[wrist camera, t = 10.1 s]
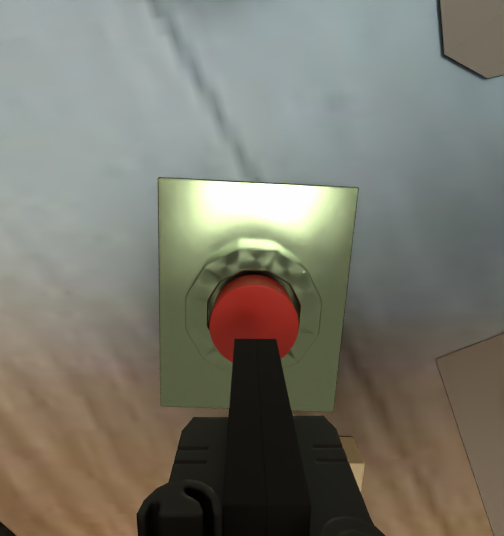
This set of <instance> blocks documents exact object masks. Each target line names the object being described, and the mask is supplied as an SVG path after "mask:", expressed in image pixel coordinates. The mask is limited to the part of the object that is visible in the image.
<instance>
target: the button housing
mask: <svg viewBox="0 0 504 536" xmlns="http://www.w3.org/2000/svg"><path fill="white" fill-rule="evenodd" d="M358 191H359V188H358V187H343V186H323V185H303V184H284V183H264V182H244V181H224V180H204V179H184V178H164V177H158V238H159V320H160V401H161V406H165V407H196V408H227V409H229V405H230V392H231V378H232V365H233V363H232V362H230V361H229V360H227V359H226V358H225V357H224V356H222V355H221V354H220V352H219V351H218V350H217V349H216V347H215V346H214V344H213V342H212V339H211V335H210V329H209V323H210V317H211V313H212V309H213V306H214V303H215V300H216V297H217V295H218V294H219V292H220V291H221V289H222V288H223V287H224V286H225V285H226V284H228V283H229V282H230V281H232V280H234V279H236V278H238V277H241V276H244V275H254V274H256V275H263V276H267V277H269V278H272V279H273V280H275V281H277V282H278V283H280V284H281V285H282V286H283V287H284V288H285V290H286V291H287V292H288V294H289V296H290V298H291V300H292V302H293V305H294V307H295V310H296V312H297V315H298V321H299V330H298V335H297V339H296V341H295V343H294V345H293V347H292V348H291V350H290V351H289V352H288V353H287V354H286V355H285V356H284V357H283V358H282V359H281V363H282V368H283V373H284V378H285V382H286V387H287V392H288V397H289V401H290V406H291V411H319V412H333V410H334V401H335V392H336V384H337V375H338V366H339V357H340V348H341V340H342V331H343V322H344V313H345V305H346V296H347V287H348V278H349V270H350V261H351V252H352V243H353V234H354V226H355V217H356V208H357V199H358Z"/></svg>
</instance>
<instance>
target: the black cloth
mask: <svg viewBox="0 0 504 536" xmlns="http://www.w3.org/2000/svg"><path fill="white" fill-rule="evenodd" d="M0 536H14V535H13V534H12V533H11V532H10V531H9V530H8V529H6V528H5V527H4V526H3V525H2V524H1V523H0Z"/></svg>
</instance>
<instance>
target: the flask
mask: <svg viewBox="0 0 504 536" xmlns="http://www.w3.org/2000/svg"><path fill="white" fill-rule="evenodd" d="M440 4H441V16H442V29H443V41H444V54H445V55H447V56H448V57H450V58H452V59H454V60H456V61H457V62H459V63H461V64H463V65H465V66H466V67H468V68H470V69H472V70H474V71H475V72H477V73H479V74H481V75H483V76H484V77H486V78H490V77H494V76H499V75H503V74H504V0H440Z"/></svg>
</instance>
